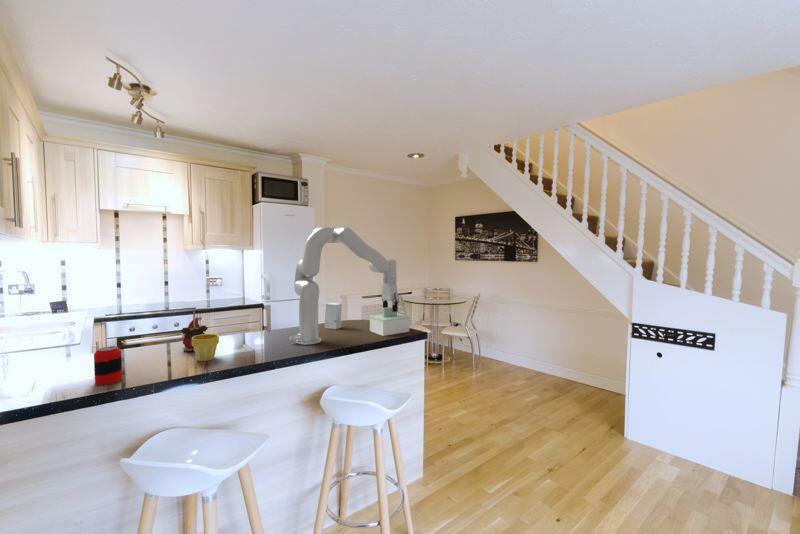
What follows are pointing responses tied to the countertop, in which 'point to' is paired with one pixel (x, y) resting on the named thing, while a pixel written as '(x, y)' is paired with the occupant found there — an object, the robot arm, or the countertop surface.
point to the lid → (389, 315)
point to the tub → (389, 326)
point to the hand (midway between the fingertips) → (390, 310)
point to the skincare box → (333, 315)
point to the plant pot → (205, 346)
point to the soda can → (107, 365)
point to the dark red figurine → (192, 332)
